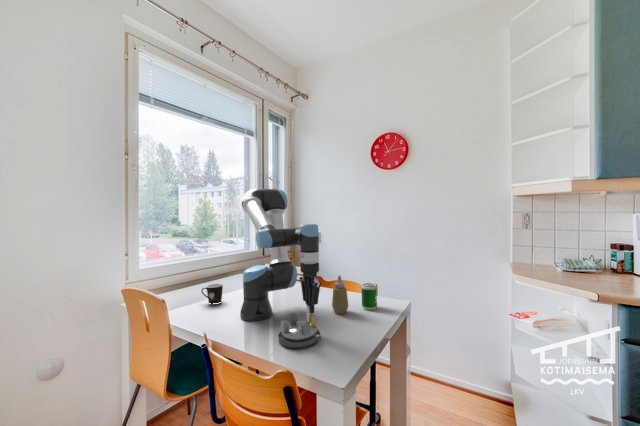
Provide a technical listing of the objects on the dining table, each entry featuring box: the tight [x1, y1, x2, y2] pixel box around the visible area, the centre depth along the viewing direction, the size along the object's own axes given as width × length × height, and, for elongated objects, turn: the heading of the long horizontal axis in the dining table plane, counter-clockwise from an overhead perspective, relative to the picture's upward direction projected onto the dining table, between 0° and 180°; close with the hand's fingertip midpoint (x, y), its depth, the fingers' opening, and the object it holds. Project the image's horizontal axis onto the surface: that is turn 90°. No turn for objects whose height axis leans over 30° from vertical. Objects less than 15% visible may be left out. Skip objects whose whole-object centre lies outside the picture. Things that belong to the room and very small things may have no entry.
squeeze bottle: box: [331, 275, 349, 315], centre depth 128 cm, size 8×8×18 cm
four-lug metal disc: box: [280, 311, 318, 342], centre depth 102 cm, size 14×14×6 cm
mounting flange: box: [278, 328, 321, 351], centre depth 102 cm, size 16×16×2 cm
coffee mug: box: [201, 283, 224, 304], centre depth 148 cm, size 12×9×10 cm
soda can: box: [360, 282, 378, 311], centre depth 132 cm, size 8×8×12 cm
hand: (310, 320), depth 105 cm, fingers closed
